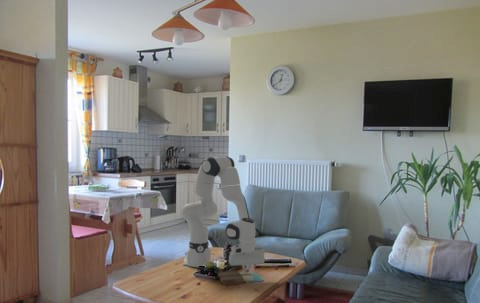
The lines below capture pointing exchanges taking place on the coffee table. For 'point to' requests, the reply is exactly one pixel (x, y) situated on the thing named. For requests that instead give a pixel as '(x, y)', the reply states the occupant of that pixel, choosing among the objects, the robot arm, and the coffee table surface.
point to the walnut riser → (230, 278)
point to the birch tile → (246, 276)
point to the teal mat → (255, 278)
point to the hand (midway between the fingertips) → (246, 272)
